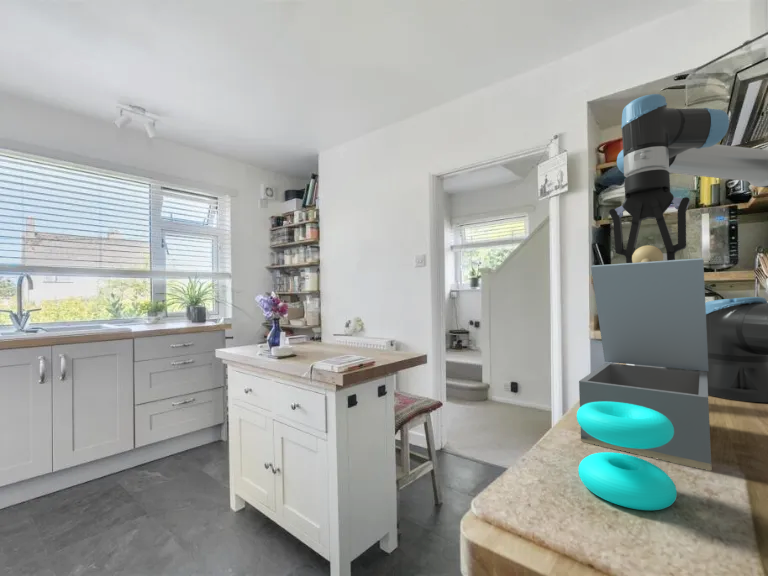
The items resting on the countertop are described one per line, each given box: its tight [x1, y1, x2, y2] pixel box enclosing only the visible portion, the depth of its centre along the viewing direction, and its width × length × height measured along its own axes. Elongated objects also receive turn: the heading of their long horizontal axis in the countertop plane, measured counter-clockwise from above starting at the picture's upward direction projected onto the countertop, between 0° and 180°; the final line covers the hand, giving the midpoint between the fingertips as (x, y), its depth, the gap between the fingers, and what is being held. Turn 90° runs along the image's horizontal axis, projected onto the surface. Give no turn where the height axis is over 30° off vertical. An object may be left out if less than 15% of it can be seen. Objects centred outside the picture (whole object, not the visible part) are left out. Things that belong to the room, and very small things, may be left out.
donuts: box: [576, 401, 678, 511], centre depth 44 cm, size 10×10×10 cm
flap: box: [590, 244, 708, 371], centre depth 71 cm, size 22×16×10 cm
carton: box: [578, 362, 713, 471], centre depth 62 cm, size 22×16×10 cm
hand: (651, 286), depth 73 cm, fingers open, 4 cm apart
